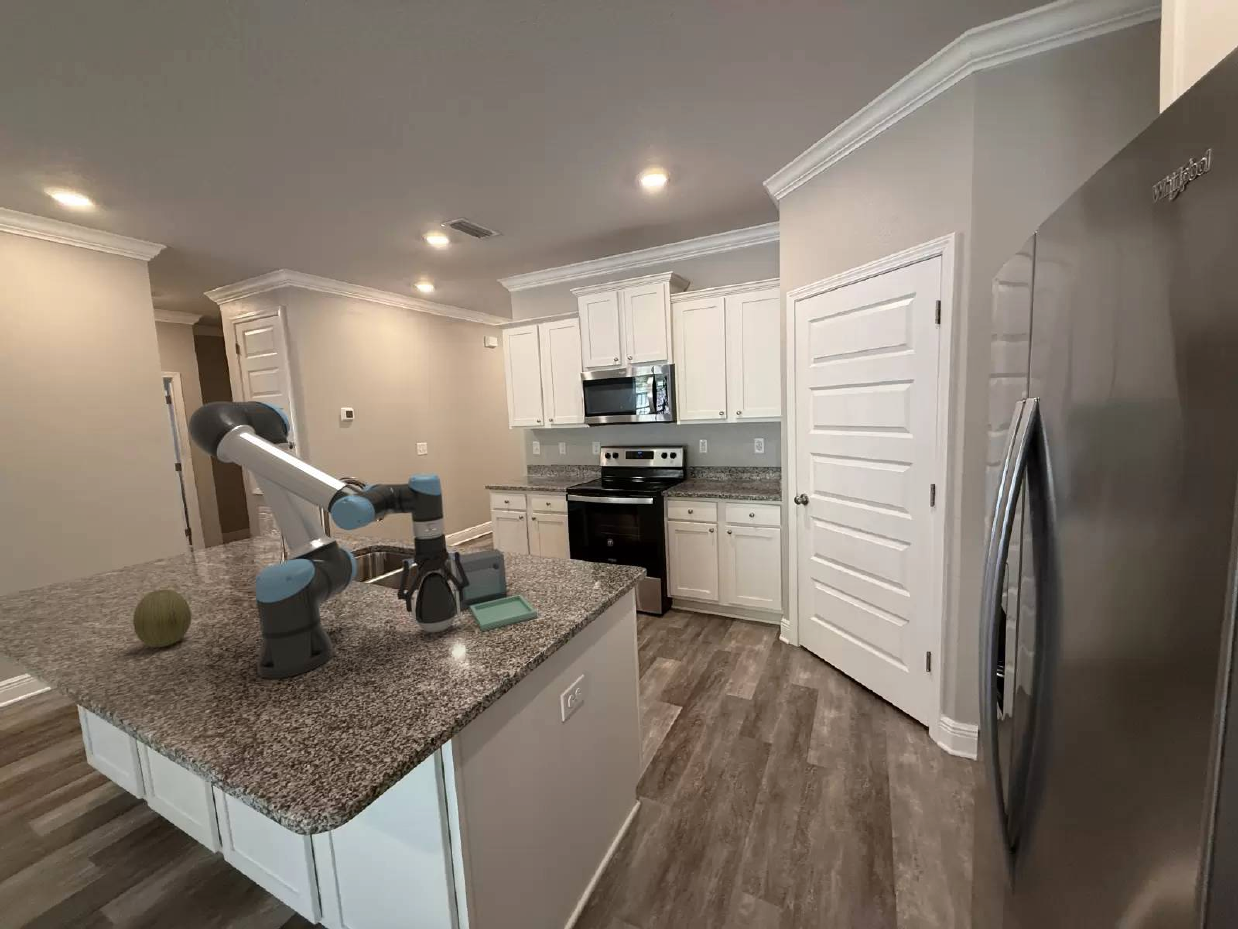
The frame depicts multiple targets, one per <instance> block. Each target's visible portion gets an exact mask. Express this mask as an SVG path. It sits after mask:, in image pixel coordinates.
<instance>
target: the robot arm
mask: <svg viewBox="0 0 1238 929" xmlns="http://www.w3.org/2000/svg"><path fill="white" fill-rule="evenodd" d="M187 429H188V432H189V436H190V438H191V440H192V441H193V442H194V444H195V445H196V446H197V447H198V448H199V449H200V450H202V451H203V452H205V453H206V454H207V455H209V456H211V457H212V458H215V459H217V460H219V461H221V462H223V463H226V464H227V463H234V464H237V465H238V466H240V467H243V468H244V469H246V470H248V471H250V472H251V474H252V475H251V476H253V478H254V481H255V483H256V485H257V487H258V488H259V490H260V493H261V494H262V497H263V498H264V500H265V503H266V504H267V507H268V509H269V511H270V513H271V515H272V517H273V519H274V520H275V522H276V525H277V527H278V528H279V531H280V534H281V535H282V538H283V539H284V541H285V543H286V545H287V547H288V549H289V555H288V556H287V559H286V561H285V560H284V561H282V562H280V563H275V564H273V565H270V566H269V567H267V568H264V569H263V570H262V571H261V572H259V573H258V575H257V576H256V578H255V580H254V588H255V591H254V596H255V598H256V599H255V600H256V605H257V606H256V607H257V611H258V618H259V624H260V629H261V630H260V631H261V634H262V635H261V636H262V641H261V645H260V650H259V653H258V658H257V662H256V668H257V674H258V676H259V677H260V678H263V679H266V680H267V679H268V680H269V679H271V680H273V679H285V678H290V677H294V676H297V675H301V674H303V673H304V674H305V673H307V672H309V671H311V670H314V669H316V668H318V667H319V666H322V665H324V663H326V662H327V661H329V660H330V659H331V658H332V656H333V655H334V646H333V641H332V640H331V639H330V636H329V635H328V633H327V631H326V630H325V628H324V626H323V624H322V621H321V620H322V619H321V611H320V605H322V604H324V603H326V601H329V600H330V599H331V598H333V597H334V596H336V595H338V594H341V593H342V592H344V591H345V590H346V589H347V588H348V587H349V586H350V585H351V584H352V583H353V582H354V581H355V578H356V576H357V571H358V564H357V560H356V558H355V556H354V554H353V553H352V552H351V551H349V549H345V547H341V546H339V544H338V542H337V540H336V539H335V538H333V537H329V536H328V535H326V533H325V531H324V530H325V529H323V526H322V525H321V522H320V521H319V518H318V516H317V514H316V512H315V509H314V508H313V506H312V505H314V506H315V507H318V508H320V509H322V510H324V511H325V512H327V513H329V514H330V516H331V520H332V521H333V522H334V524H335V525H336V526H337V527H338V528H339V529H342V530H344V531H353V530H357V529H360V528H365V527H366V526H368V525H369V524H372V523H373V522H375V521H378V520H381V519H383V518H385V517H387V516H389V515H394V514H397V515H398V514H411V521H412V522H411V523H412V533H413V536H414V538H413V544H414V555H413V557H411V558H403V559H402V560H401V561H402V562H401V563H402V571H401V577H400V582H399V586H398V589H397V594H396V595H397V599H398V600H400V601H401V600H404V601H405V608H406V612H407V613H411V621H412V625H413V626H414V625H415V626H416V625H417V621H416V613H415V606H416V601H415V597H414V596H413V595H414V594H415V592H416V590H417V587H418V586H419V583H421V581H422V579H423V577H424V576H425V575H424V574H425V573H430V572H438V571H440V570H442V571H443V573H444V574H445V576H448V575H451V574H452V570H450V569H449V567H448V566H447V565H446V562H447V561H448V558H450V557H451V559H452V560H454V562H455V564H456V567H457V569H458V571H459V574H460V576H461V578H462V582H461V583H460V582H459V581H458V580H457V579H456V577H455V576H454V575H453V576H454V578H452V579H451V580H450V581H451V582H452V584H453V583H454V585H455V586H456V587H457V588H454V589H453V595H454V597H455V603H456V608H457V613H456V615H457V616H460V615H461V611H460V603H459V602H460V601H463V588H464V587H466V586H469V581H468V579H467V576H466V574H465V572H464V569H463V567H462V565H461V562H460V552H459V551H458V550H457V549H455V550H454V551H448V550H447V543H446V542H447V540H446V535H445V534H444V533H445V531H446V530H445V521H444V520H445V518H444V509H443V508H444V504H443V490H442V485H441V478H440V476H438V475H437V474H435V473H434V474H432V473H431V474H430V473H429V474H428V473H427V474H417V475H412V476H410V477H409V478H408V483H396V484H394V483H393V484H392V483H391V484H390V483H389V484H388V483H387V484H384V483H377V484H372V485H371V484H369V485H366V486H364V487H363V488H362V490H360V489H358V488H357V487H354V486H353V485H351V484H348V483H347V482H345V481H343V480H341V479H339V478H338V477H336V476H334V475H332V474H330V473H328V471H327V472H326V471H325V470H323V469H321V468H320V467H318V466H316V465H313V464H311V463H310V462H308V461H307V460H305V459H302V458H301V457H298V456H297V455H295V454H294V453H291V452H290V451H288V450H289V448H290V443H289V440H288V437H289V435H290V433H289V432H290V430H291V425H290V421H289V419H288V416H287V415H286V414H285V413H284V411H283V410H282V409H281V408H279V407H278V406H276V405H273V404H271V403H268V402H264V401H256V400H248V401H213V402H209V403H205V404H203V405H202V406H200V407H198V408H197V409H195V411H194V412H193V413H192V414H191V415H190V419H189V421H188V427H187ZM451 559H450V560H451ZM413 564H415V565H417V567H418V568H417V569H416V572H415V574H414V576H413V579H412V580H411V582H410V585H409V587H408V589H407V590H406V586H407V582H408V577H409V573H410V568H412V567H413ZM405 591H406V592H405Z"/></svg>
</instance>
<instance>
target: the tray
mask: <svg viewBox="0 0 1238 929" xmlns="http://www.w3.org/2000/svg"><path fill="white" fill-rule="evenodd" d="M469 612H470V614H471V616H472V617H473V619H474V620H475V623H477V626H478V627H479V630H481V633H483V632H486V631H491V630H494V629H498V628H502V627H505V626H506V627H507V626H509V625H514V624H519V623H522V622H525V621H526V622H527V621H529V620H533V619H537V618H538V610H536V608H534V606H533V605H532V604H531V603H529V601H528V600H527V599H526V598H525V597H524V596H523V595H522V593H521V594H516V595H515V594H514V595H511V596H507V597H506V598H502V599H498V600H493V601H489V602H485V603H480V604H476V605H472V606H470V609H469Z"/></svg>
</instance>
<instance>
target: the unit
mask: <svg viewBox="0 0 1238 929" xmlns="http://www.w3.org/2000/svg"><path fill="white" fill-rule="evenodd" d="M449 558H450V559H449V560H450V567H451V572H452V574H453V575H454V576H455V577H456V579H457V580H458V581H459V582H460V583H461V582H462V578H461V576H460V574H459V571H458V569H457V567H456V564H455V562H454V560H452V559H451V557H449ZM460 562H461V565H462V567H463V569H464V572H465V574H466V576H467V579H468V581H469V586H466V587H464V588H463V601H460V602H459V603H460V612H462V611H465V610H470V606H472V605H476V604H480V603H485V602H489V601H493V600H498V599H502V598H506V597H508V590H507V579H506V577H507V576H506V566H505V555H504V554H503V552H501V551H500V550H499V549H498V548H494V549H487V550H482V551H477V552H472V553H471V552H470V553H468V554H467V553H465V554H461V555H460ZM452 586H453V587H452V588H453V590H454V588H457V587H456V586H455V585H454V583H453V582H452ZM454 599H455V597H454Z"/></svg>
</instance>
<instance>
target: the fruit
mask: <svg viewBox="0 0 1238 929" xmlns="http://www.w3.org/2000/svg"><path fill="white" fill-rule="evenodd" d="M191 622H192V611H191V608H190V604H189V603H188V602H187V600H186V599H185V598H184V596H182V595H181V594H180V593H178V592H177V591H174V590H172V589H161V590H160V589H159V590H155V591H152V592H150V593H148V594H146V595H145V596H143V598H141V599H140V600H139V602H138V603H137V605H136V608H135V610H134V613H133V629H134V633H135V635H136V636H137V638H138V639H139V640H140V642H141V643H142V644H144V645H146V646H148V647H151V648H164V647H165V646H166V647H169V646H171V645H173V644H174V645H175V643H177V642H179V641H181V640H182V639H183V637H185V636H186V634H187V632H188V631H189V629H190V626H191Z"/></svg>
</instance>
